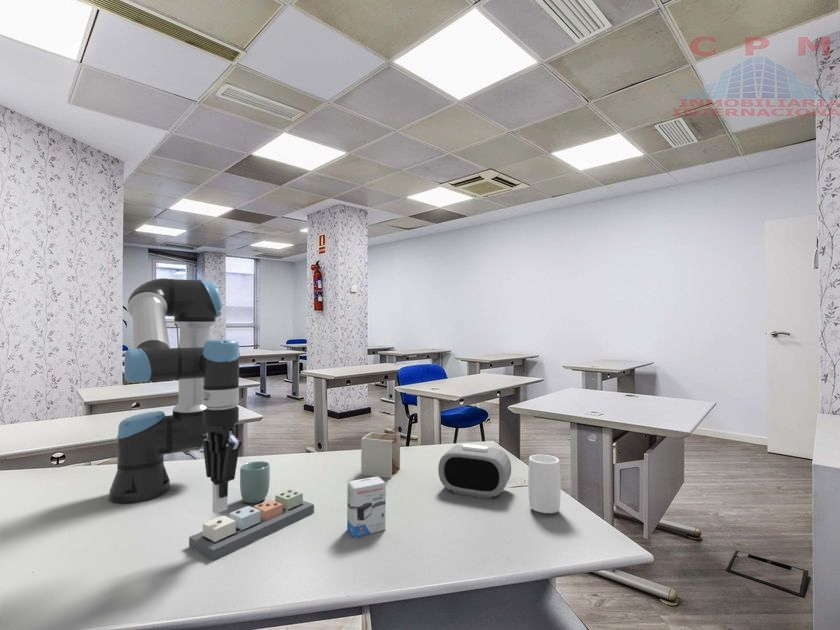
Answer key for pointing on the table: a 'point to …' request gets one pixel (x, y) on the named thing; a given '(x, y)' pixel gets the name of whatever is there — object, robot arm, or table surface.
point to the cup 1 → (254, 481)
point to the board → (248, 533)
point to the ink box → (366, 506)
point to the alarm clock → (475, 470)
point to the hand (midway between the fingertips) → (219, 510)
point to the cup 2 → (544, 483)
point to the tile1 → (219, 528)
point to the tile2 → (246, 517)
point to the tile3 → (269, 509)
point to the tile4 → (289, 498)
